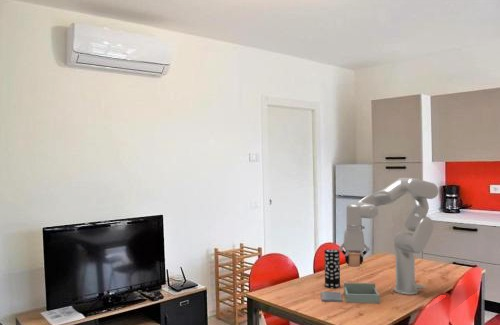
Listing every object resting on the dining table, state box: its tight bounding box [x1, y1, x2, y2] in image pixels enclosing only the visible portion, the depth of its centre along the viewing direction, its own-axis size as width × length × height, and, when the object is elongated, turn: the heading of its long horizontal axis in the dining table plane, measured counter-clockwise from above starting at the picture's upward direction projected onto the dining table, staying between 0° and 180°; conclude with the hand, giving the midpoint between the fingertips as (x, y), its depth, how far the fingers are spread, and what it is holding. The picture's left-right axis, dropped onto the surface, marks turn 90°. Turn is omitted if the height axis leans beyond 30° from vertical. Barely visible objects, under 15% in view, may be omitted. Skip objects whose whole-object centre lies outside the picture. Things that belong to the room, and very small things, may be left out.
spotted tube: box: [324, 248, 341, 290], centre depth 230 cm, size 8×8×20 cm
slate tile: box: [320, 291, 343, 303], centre depth 211 cm, size 10×12×1 cm
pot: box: [347, 251, 361, 268], centre depth 210 cm, size 7×7×7 cm
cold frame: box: [343, 282, 381, 304], centre depth 209 cm, size 16×13×6 cm
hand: (354, 263), depth 210 cm, fingers closed on pot, 6 cm apart
